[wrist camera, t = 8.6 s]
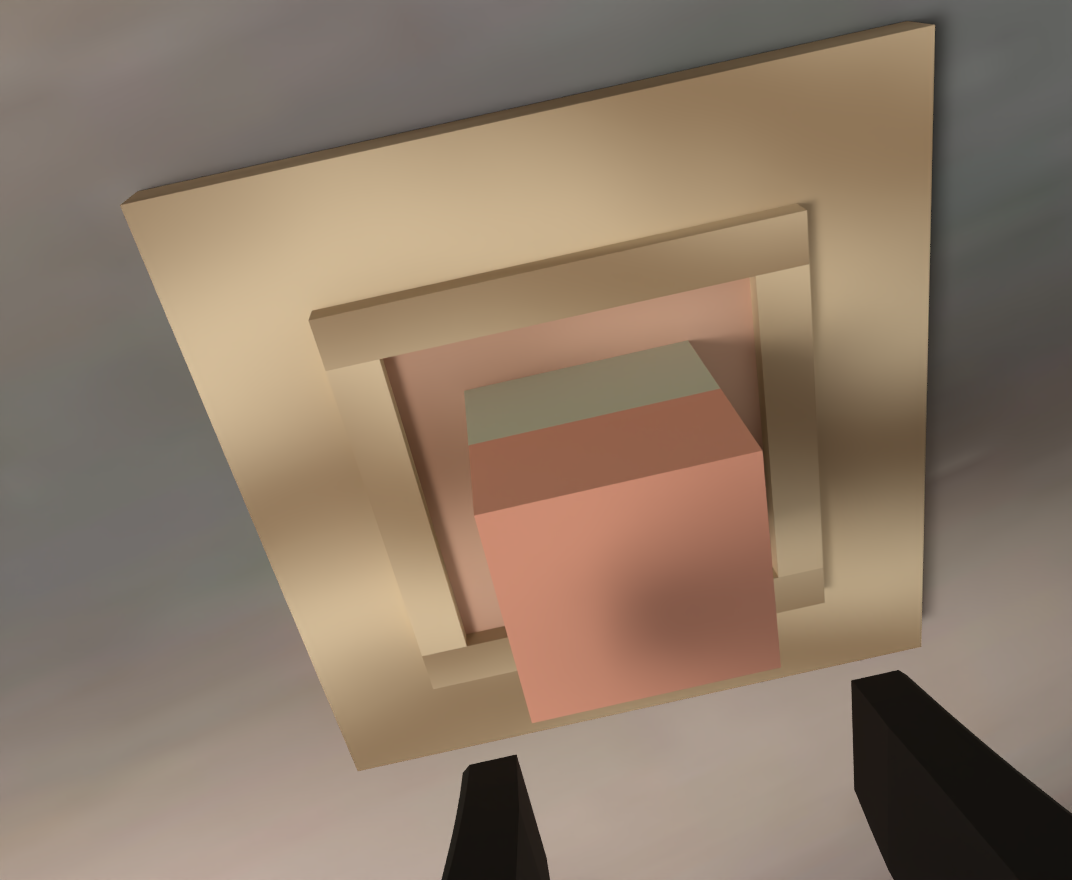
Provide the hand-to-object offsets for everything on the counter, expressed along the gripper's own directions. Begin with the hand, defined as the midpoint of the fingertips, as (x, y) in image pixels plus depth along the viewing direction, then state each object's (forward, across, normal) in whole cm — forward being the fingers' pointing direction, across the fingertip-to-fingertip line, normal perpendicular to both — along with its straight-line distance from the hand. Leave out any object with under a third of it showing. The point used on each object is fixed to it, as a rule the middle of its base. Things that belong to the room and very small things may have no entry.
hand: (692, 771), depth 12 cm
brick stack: (+8, 0, 0) cm, 8 cm away
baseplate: (+9, 0, 0) cm, 9 cm away
